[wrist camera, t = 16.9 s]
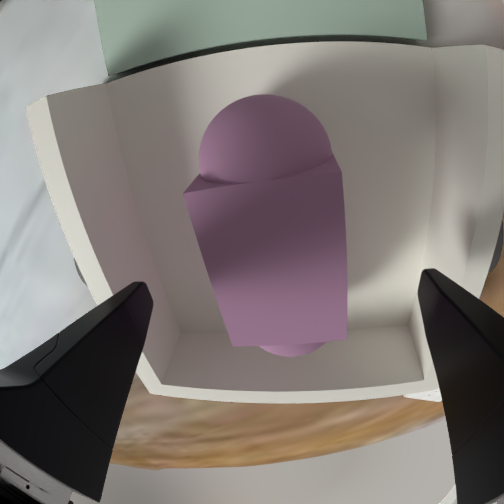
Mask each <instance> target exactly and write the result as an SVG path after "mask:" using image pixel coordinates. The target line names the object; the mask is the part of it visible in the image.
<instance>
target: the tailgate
mask: <svg viewBox="0 0 504 504" xmlns="http://www.w3.org/2000/svg"><path fill="white" fill-rule="evenodd" d="M94 2H95V9H96V15H97V21H98V27H99V32H100V37H101V43H102V48H103V53H104V58H105V62H106V67H107V71H108V76H110V75H114V74H119V73H122V72H125V71H128V70H131V69H134V68H137V67H140V66H143V65H147V64H150V63H153V62H157V61H160V60H164V59H168V58H172V57H175V56H179V55H184V54H188V53H192V52H197V51H201V50H206V49H211V48H216V47H222V46H227V45H233V44H240V43H246V42H254V41H261V40H270V39H280V38H292V37H309V36H372V37H388V38H400V39H409V40H418V41H421V40H427V32H426V23H425V15H424V7H423V1H422V0H94Z"/></svg>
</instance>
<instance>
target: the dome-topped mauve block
mask: <svg viewBox="0 0 504 504" xmlns="http://www.w3.org/2000/svg"><path fill="white" fill-rule="evenodd" d="M198 160H199V170H200V174H199V175H198V176H197V177H196V178H195V179H194V181H193V182H192V183H191V184H190V185H189V187H188V188H187V189H186V190H185V191H184V193H183V196H184V199H185V202H186V206H187V209H188V212H189V216H190V219H191V222H192V226H193V229H194V232H195V235H196V238H197V242H198V245H199V248H200V251H201V254H202V257H203V260H204V264H205V267H206V270H207V273H208V276H209V279H210V282H211V285H212V288H213V291H214V294H215V297H216V300H217V303H218V306H219V308H220V311H221V314H222V317H223V320H224V323H225V326H226V329H227V331H228V334H229V337H230V340H231V343H232V345H233V347H244V346H259V347H261V348H262V349H264V350H265V351H267V352H270V353H272V354H275V355H279V356H284V357H295V356H301V355H305V354H308V353H311V352H313V351H315V350H316V349H318V348H319V347H321V346H322V345H323V344H325V343H326V342H330V341H340V340H347V247H346V224H345V207H344V193H343V180H342V171H341V169H340V167H339V165H338V163H337V161H336V159H335V157H334V155H333V153H332V149H331V144H330V141H329V138H328V135H327V133H326V131H325V129H324V127H323V126H322V124H321V123H320V121H319V120H318V119H317V118H316V116H315V115H314V114H313V113H312V112H310V111H309V110H308V109H307V108H306V107H304V106H302V105H301V104H299V103H298V102H295V101H293V100H291V99H289V98H285V97H282V96H277V95H268V94H261V95H252V96H248V97H244V98H242V99H239V100H237V101H235V102H233V103H231V104H229V105H228V106H226V107H225V108H224V109H222V110H221V111H220V112H219V113H218V114H217V115H216V116H215V117H214V118H213V120H212V121H211V122H210V124H209V125H208V127H207V129H206V130H205V132H204V135H203V138H202V140H201V144H200V149H199V158H198Z"/></svg>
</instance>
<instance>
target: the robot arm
mask: <svg viewBox="0 0 504 504" xmlns="http://www.w3.org/2000/svg"><path fill="white" fill-rule="evenodd" d="M0 1H1V0H0ZM417 294H418V300H419V305H420V310H421V315H422V320H423V325H424V330H425V335H426V339H427V343H428V347H429V350H430V354H431V357H432V361H433V365H434V368H435V372H436V376H437V380H438V384H439V389H440V393H441V397H442V402H443V407H444V411H445V416H446V421H447V427H448V432H449V438H450V444H451V451H452V455H453V456H452V459H453V465H454V474H455V484H456V496H457V504H492V503H494V502H497V504H504V317H502V316H501V315H500V314H498V313H497V312H496V311H494V310H493V309H492V308H490V307H489V306H488V305H486V304H485V303H484V302H482V301H481V300H480V299H478V298H477V297H475V296H474V295H473V294H471V293H470V292H468V291H467V290H466V289H464V288H463V287H461V286H460V285H458V284H457V283H456V282H454V281H453V280H451V279H450V278H448V277H447V276H445V275H444V274H442V273H441V272H440V271H438V270H437V269H435V268H429V269H423V270H422V272H421V277H420V282H419V286H418V292H417ZM152 310H153V299H152V296H151V294H150V291H149V289H148V286H147V284H146V283H145V282H143V281H135V282H132V283H131V284H129V285H128V286H126V287H125V288H123V289H122V290H120V291H119V292H117V293H116V294H114V295H113V296H111V297H110V298H108V299H107V300H105V301H104V302H102V303H101V304H99V305H98V306H97V307H95V308H94V309H92V310H91V311H89V312H88V313H86V314H85V315H83V316H82V317H81V318H79V319H78V320H76V321H75V322H73V323H72V324H70V325H69V326H68V327H66V328H65V329H63V330H62V331H61V332H60V333H58V334H56V335H55V336H53V337H52V338H51V339H49V340H48V341H46V342H45V343H43V344H42V345H40V346H39V347H37V348H36V349H34V350H33V351H31V352H29V353H28V354H26V355H25V356H23V357H22V358H20V359H18V360H17V361H15V362H14V363H12V364H10V365H9V366H7V367H5V368H3V369H1V370H0V504H73V502H72V501H70V500H69V499H70V496H71V494H72V491H74V492H76V493H78V494H81V495H82V496H85V497H87V498H89V499H92V500H94V501H97V502H100V499H101V496H102V492H103V487H104V482H105V479H106V474H107V470H108V466H109V462H110V459H111V455H112V451H113V450H112V449H113V446H114V443H115V439H116V435H117V432H118V428H119V425H120V421H121V418H122V414H123V411H124V407H125V404H126V401H127V397H128V394H129V391H130V388H131V384H132V381H133V378H134V375H135V372H136V369H137V366H138V362H139V359H140V356H141V353H142V350H143V347H144V344H145V340H146V336H147V332H148V327H149V323H150V319H151V314H152Z"/></svg>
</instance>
